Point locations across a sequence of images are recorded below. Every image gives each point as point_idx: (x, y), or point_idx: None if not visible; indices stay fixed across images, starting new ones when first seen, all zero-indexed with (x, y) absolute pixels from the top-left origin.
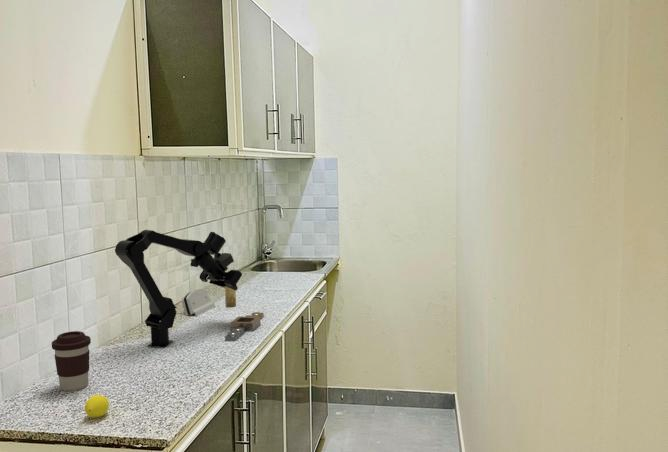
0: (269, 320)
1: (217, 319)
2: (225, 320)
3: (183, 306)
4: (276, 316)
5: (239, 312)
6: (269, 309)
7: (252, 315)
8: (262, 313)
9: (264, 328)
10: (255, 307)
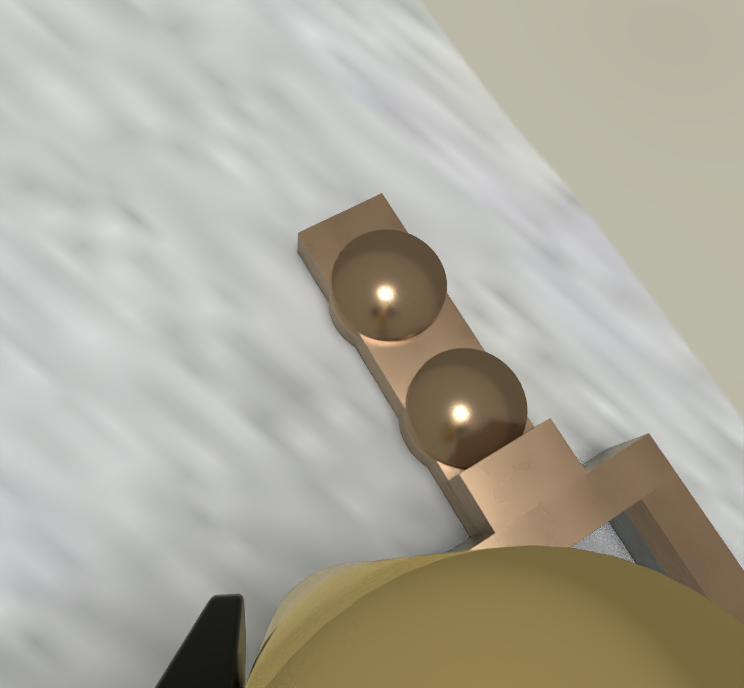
0: (536, 280)
1: (16, 609)
2: (144, 572)
3: None
4: (473, 148)
5: (25, 242)
6: (219, 12)
7: (382, 340)
8: (396, 218)
9: (738, 509)
10: (32, 25)
